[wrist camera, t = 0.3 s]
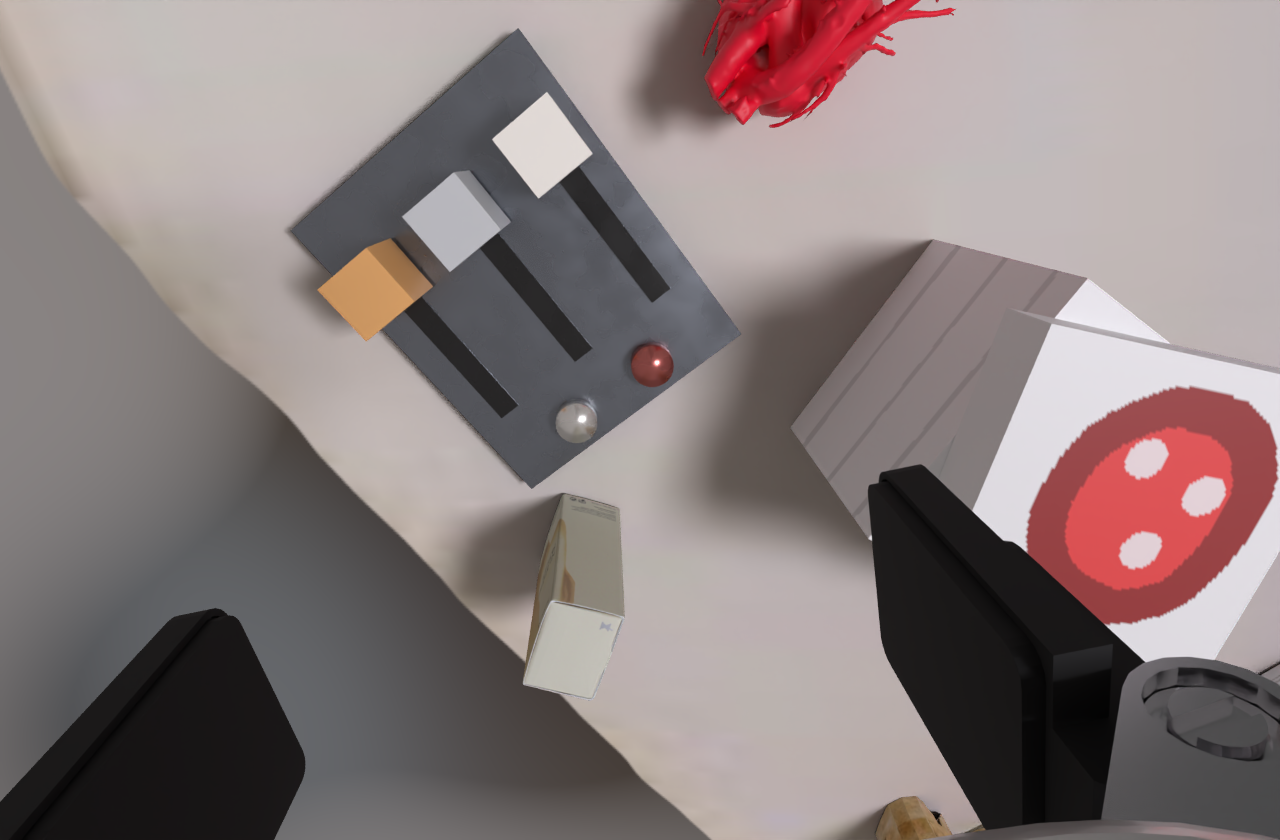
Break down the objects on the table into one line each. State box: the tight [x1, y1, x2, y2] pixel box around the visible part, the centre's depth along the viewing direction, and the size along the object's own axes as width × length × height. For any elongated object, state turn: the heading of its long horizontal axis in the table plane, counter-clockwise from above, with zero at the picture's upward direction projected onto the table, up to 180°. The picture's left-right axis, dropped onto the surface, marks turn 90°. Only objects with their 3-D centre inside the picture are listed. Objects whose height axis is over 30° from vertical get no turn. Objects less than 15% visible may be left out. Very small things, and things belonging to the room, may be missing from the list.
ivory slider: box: [492, 92, 593, 198], centre depth 37 cm, size 4×4×4 cm
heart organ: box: [702, 0, 956, 128], centre depth 34 cm, size 10×12×12 cm
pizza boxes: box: [790, 239, 1280, 662], centre depth 40 cm, size 19×30×18 cm, turn 57°
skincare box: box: [523, 494, 625, 701], centre depth 44 cm, size 6×4×12 cm
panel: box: [291, 28, 741, 489], centre depth 42 cm, size 21×17×2 cm
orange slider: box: [318, 238, 433, 341], centre depth 39 cm, size 4×4×4 cm
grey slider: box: [402, 170, 511, 272], centre depth 38 cm, size 4×4×4 cm
